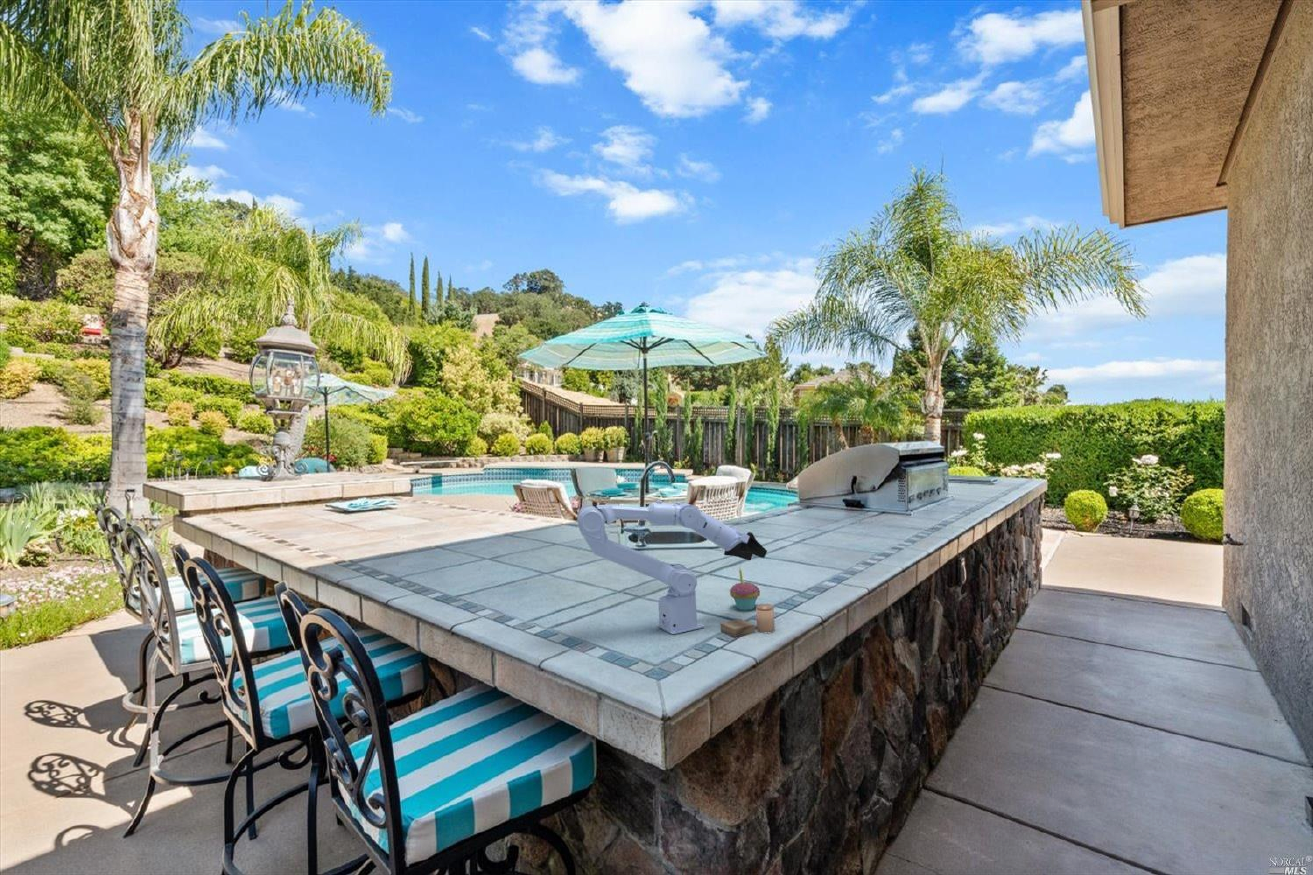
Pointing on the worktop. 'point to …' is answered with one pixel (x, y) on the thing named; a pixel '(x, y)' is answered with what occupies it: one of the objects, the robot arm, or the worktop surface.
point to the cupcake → (744, 594)
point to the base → (737, 628)
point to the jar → (765, 618)
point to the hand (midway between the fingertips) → (758, 555)
